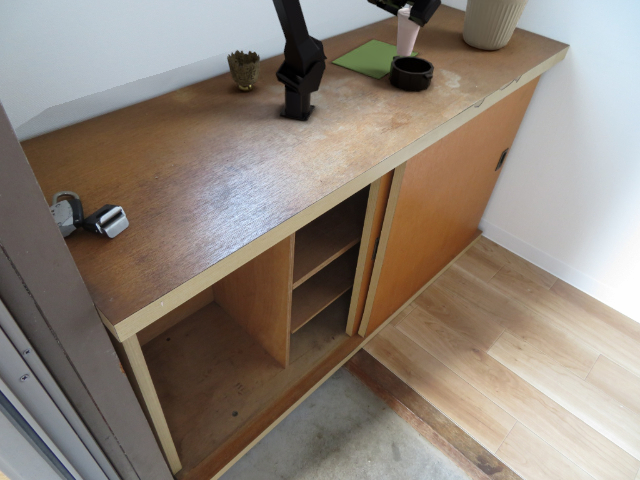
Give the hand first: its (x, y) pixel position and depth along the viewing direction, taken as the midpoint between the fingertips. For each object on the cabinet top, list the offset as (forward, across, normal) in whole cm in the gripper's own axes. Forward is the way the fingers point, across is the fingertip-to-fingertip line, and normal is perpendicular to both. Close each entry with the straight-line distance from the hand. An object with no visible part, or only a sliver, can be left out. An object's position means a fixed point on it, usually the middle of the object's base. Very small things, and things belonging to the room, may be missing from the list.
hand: (413, 21), depth 107 cm
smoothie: (+4, 0, +6) cm, 8 cm away
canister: (+36, +1, -17) cm, 39 cm away
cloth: (+10, +12, +8) cm, 18 cm away
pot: (+8, -4, +11) cm, 14 cm away
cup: (-17, +16, +37) cm, 44 cm away
